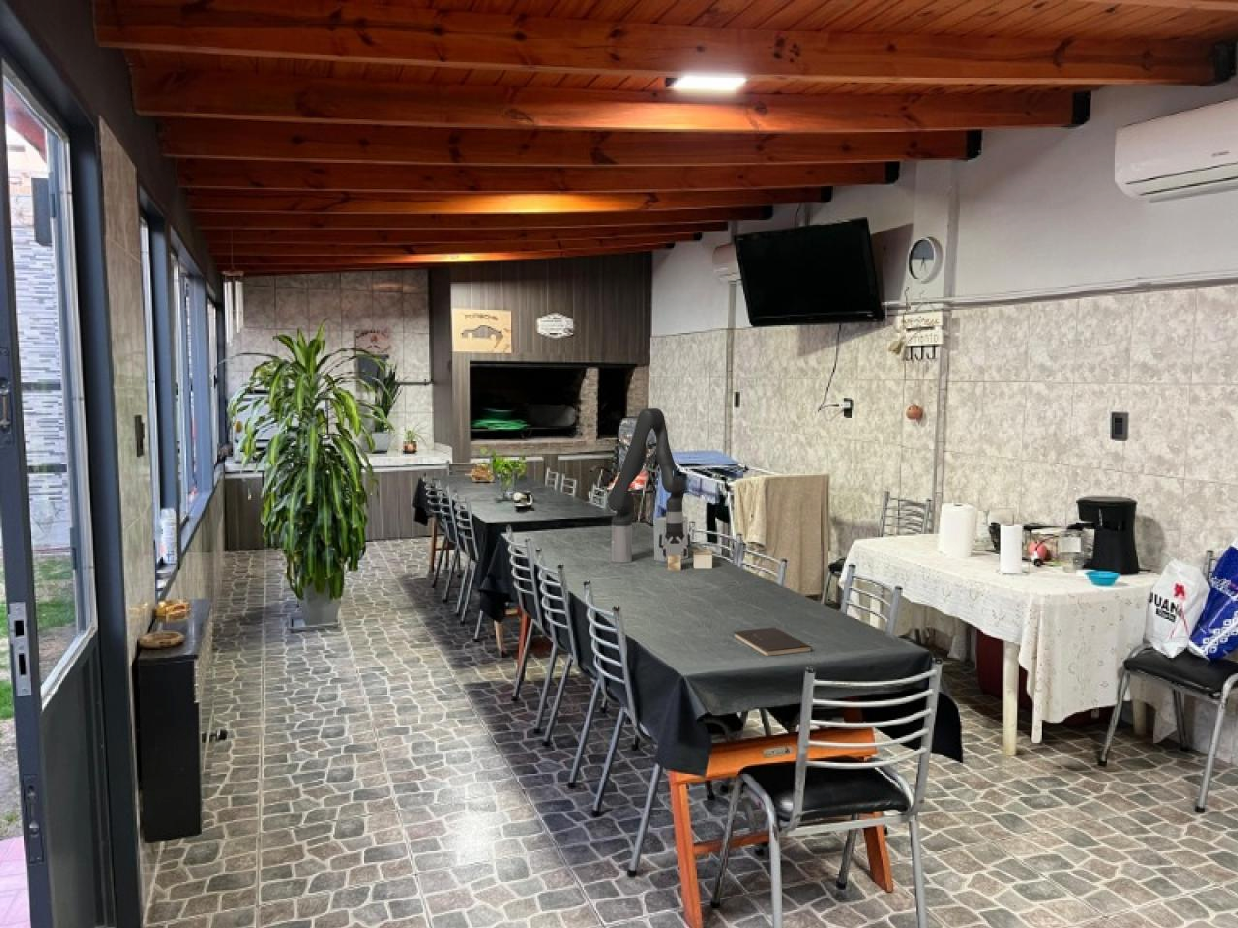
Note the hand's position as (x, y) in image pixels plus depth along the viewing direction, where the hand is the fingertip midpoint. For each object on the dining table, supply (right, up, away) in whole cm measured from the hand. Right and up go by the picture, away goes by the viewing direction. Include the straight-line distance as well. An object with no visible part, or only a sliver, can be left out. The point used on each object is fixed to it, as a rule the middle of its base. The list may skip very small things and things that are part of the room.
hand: (674, 557), depth 414 cm
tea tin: (+13, -5, +6) cm, 15 cm away
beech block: (0, -6, +1) cm, 6 cm away
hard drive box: (-1, -4, +23) cm, 23 cm away
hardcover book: (+24, -17, -115) cm, 118 cm away
